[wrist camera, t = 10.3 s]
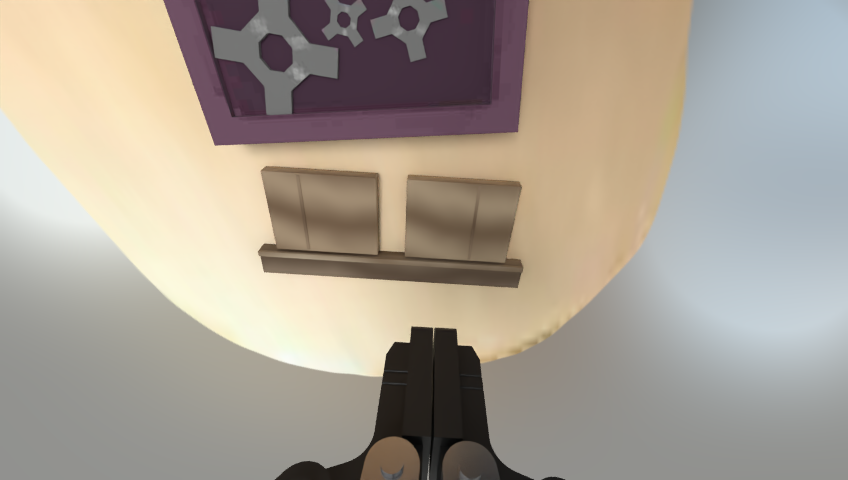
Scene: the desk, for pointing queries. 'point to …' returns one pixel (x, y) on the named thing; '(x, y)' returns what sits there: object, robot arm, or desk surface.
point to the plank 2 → (460, 218)
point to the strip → (391, 267)
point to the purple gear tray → (352, 67)
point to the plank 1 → (323, 209)
